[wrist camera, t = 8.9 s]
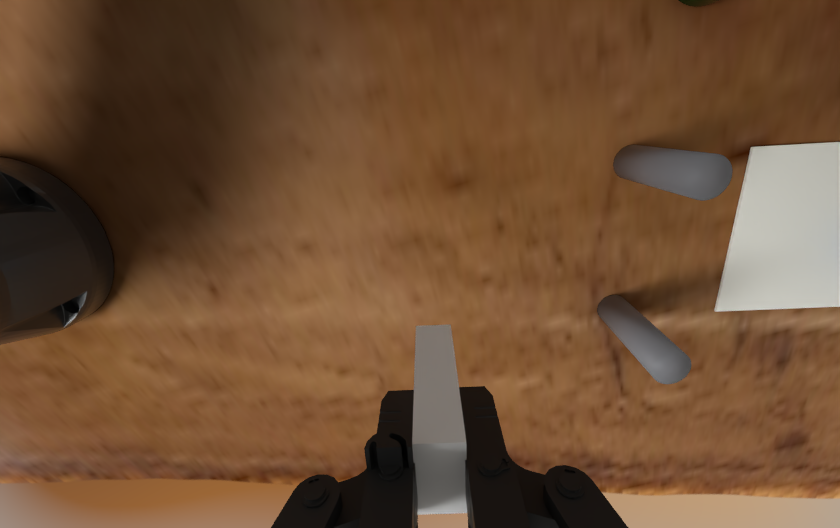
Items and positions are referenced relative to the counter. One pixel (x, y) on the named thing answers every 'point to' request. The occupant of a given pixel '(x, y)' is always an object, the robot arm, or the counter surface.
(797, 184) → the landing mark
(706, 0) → the soda can
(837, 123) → the counter surface
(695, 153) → the post
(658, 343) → the post
